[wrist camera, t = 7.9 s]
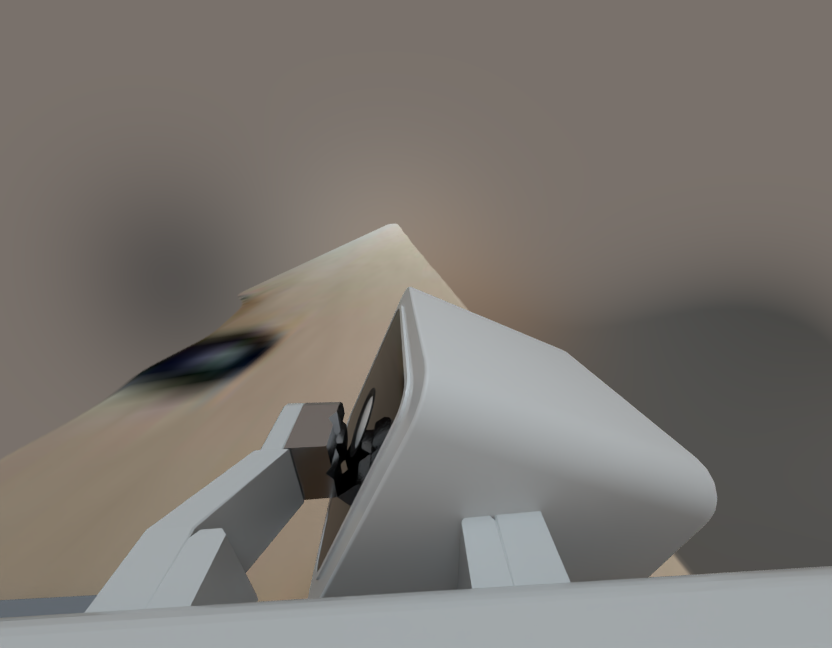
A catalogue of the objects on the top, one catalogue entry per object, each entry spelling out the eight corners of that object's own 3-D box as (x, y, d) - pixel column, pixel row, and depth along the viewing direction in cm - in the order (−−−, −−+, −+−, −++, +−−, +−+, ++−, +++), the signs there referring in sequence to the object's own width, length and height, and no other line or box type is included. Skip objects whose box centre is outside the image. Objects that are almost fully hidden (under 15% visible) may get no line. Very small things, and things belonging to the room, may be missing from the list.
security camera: (316, 487, 13) (406, 280, 10) (457, 521, 14) (573, 350, 11) (251, 723, 7) (428, 385, 4) (502, 739, 8) (772, 504, 5)
